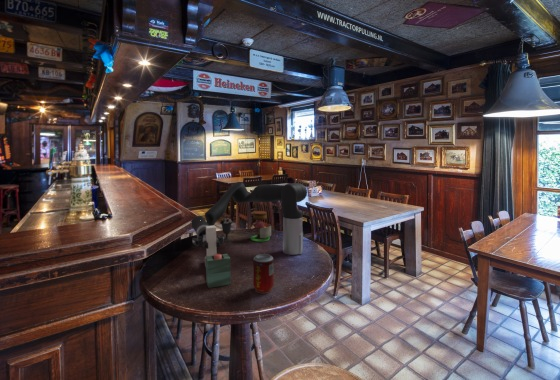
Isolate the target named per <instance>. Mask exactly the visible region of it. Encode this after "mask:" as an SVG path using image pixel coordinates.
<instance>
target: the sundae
mask: <svg viewBox="0 0 560 380" xmlns="http://www.w3.org/2000/svg"><path fill="white" fill-rule="evenodd" d="M230 214H231V212H228V214H227V215H225V216H224V217H223V218H222V219H220V222H219V225H220V224H221V229H222V232H223V234H224V235H225V237H224V241H223V243H224V242H225V243H226V242H231V241H232V238H229V234H230V233H231V230H232V224H233V221H232V219H231V217H230V216H229V215H230Z"/></svg>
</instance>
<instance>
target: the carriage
mask: <svg viewBox="0 0 560 380" xmlns="http://www.w3.org/2000/svg"><path fill="white" fill-rule="evenodd" d="M216 235H217V227H216V226H215V225H213V226H206V241H207V243H208V249H206V248H205V249H206V256H213V255H215V254H218V253H217V252H218V251H217V248H218V247H216ZM204 267H205V268H206V258H205V257H204Z"/></svg>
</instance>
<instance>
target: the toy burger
mask: <svg viewBox="0 0 560 380" xmlns="http://www.w3.org/2000/svg"><path fill="white" fill-rule="evenodd" d="M267 213H268V212H267V211H264V210H255V211H254V212H253V213H252V214H253V215H252V216H253V217H252V219H253V220H257V221H256V222H255V223H254V224H253V227H254V230H256V232H255V235H252V236H250V241H253V242H257V243H259V242H260V243H261V242H262V243H263V242H267V241H269V240H271V239H270V237H271V236H272V224H270V223H268V224H269V226H265V224H264V222H263V220H267V219H268V217H267V216H268V215H267Z"/></svg>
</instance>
